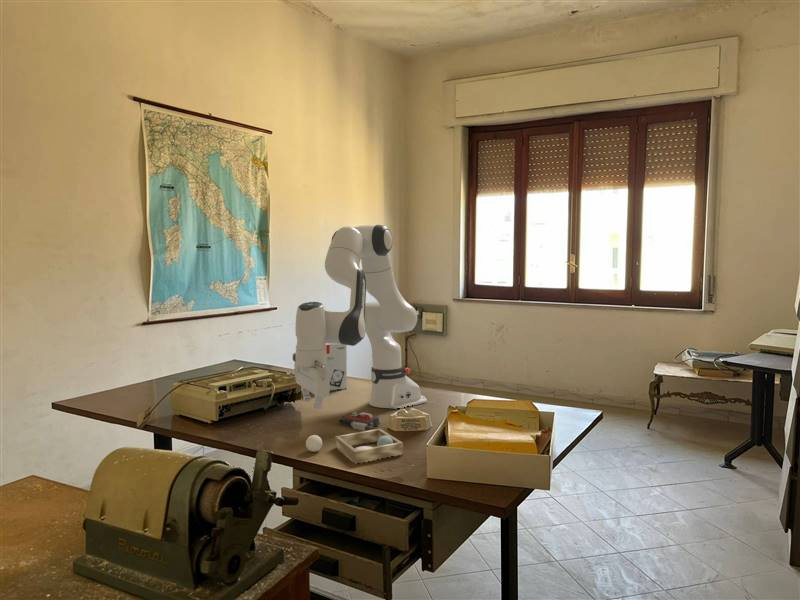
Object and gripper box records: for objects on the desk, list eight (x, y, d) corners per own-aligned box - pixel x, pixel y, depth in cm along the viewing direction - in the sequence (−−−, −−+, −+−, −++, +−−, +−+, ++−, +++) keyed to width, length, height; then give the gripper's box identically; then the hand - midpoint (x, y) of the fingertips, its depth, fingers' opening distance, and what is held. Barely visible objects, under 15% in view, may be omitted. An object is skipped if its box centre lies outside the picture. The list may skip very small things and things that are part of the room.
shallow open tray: (380, 439, 177) (380, 428, 176) (403, 454, 163) (402, 442, 163) (335, 447, 170) (335, 436, 169) (355, 464, 156) (355, 452, 156)
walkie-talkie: (334, 426, 191) (384, 436, 181) (334, 414, 191) (384, 422, 180) (349, 419, 198) (398, 428, 188) (349, 407, 198) (398, 415, 188)
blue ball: (388, 447, 169) (388, 432, 168) (396, 453, 165) (396, 437, 164) (374, 450, 167) (374, 435, 166) (381, 455, 162) (381, 439, 162)
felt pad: (369, 445, 171) (369, 444, 171) (377, 452, 166) (377, 451, 166) (350, 449, 168) (350, 448, 168) (358, 455, 163) (358, 454, 163)
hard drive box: (312, 393, 234) (310, 345, 232) (307, 389, 241) (306, 342, 239) (347, 388, 240) (346, 342, 239) (341, 385, 247) (340, 340, 246)
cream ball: (319, 447, 170) (318, 431, 170) (324, 452, 166) (324, 436, 166) (303, 450, 168) (303, 434, 167) (309, 455, 164) (308, 439, 163)
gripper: (334, 363, 157) (335, 412, 158) (310, 352, 175) (311, 396, 176) (313, 365, 154) (313, 415, 155) (290, 353, 172) (291, 398, 173)
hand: (312, 404), depth 165 cm, fingers open, 8 cm apart
